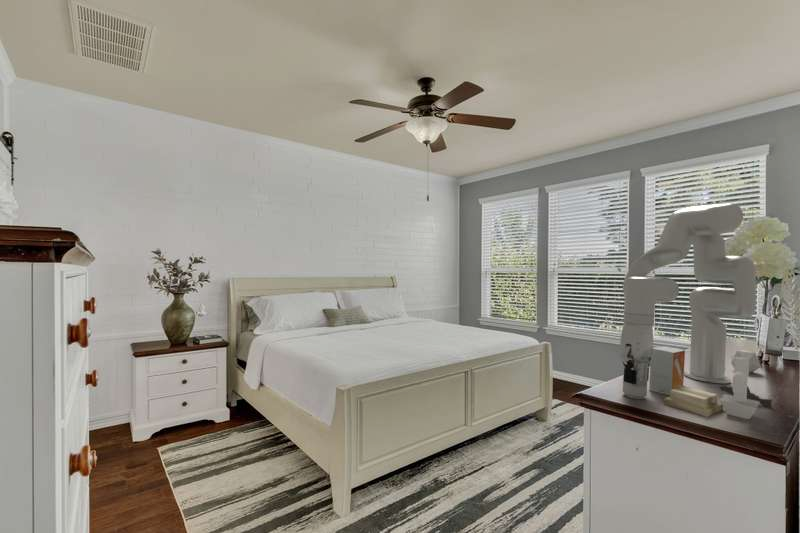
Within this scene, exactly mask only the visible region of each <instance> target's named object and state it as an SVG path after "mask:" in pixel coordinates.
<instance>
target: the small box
mask: <svg viewBox="0 0 800 533" xmlns="http://www.w3.org/2000/svg"><path fill="white" fill-rule="evenodd" d="M685 358H686V350H685V349H680V348H676V347H671V346H670V347H669V346H664V345H663V346H657V347H653V354H652V356H651V360H650V366H649V384H648V385H649V386H648V387H649V388H648V390H649V391H651V392H655V393H659V394H662V395H666V396H668V397H670V390H672V389H675V388H678V387H682V386H684V378H685V375H684V371H685V360H686V359H685Z"/></svg>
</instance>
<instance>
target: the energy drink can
mask: <svg viewBox="0 0 800 533" xmlns="http://www.w3.org/2000/svg"><path fill="white" fill-rule="evenodd" d="M648 353H649V352H648V351H644V353H643V355H642V358H641V359H640V360H637V364H636V368H635V370H637V377H636V384H631V383H627V382H624V370H623V372H622V373H623V374H622V375H623V376H622V393H624V395H625V397H627V398H630V399H635V400H645V398H646V397H647V394H648V381H647V376H648ZM628 358H633V356H629V357H628ZM633 359H634V358H633ZM629 361H630V360H629ZM630 362H631V363H633V361H630Z"/></svg>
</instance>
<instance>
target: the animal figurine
mask: <svg viewBox="0 0 800 533" xmlns="http://www.w3.org/2000/svg"><path fill="white" fill-rule="evenodd" d="M718 388H719V389H720V391H721V392H723V393H724V394H726V395H731V396H734V393H733V386H728V385H721V386H719V387H718ZM747 399H750V400H755V401H760V403H759V404H760V405H761V406H765V407H767V408H771V409H772V404H773V403H772V402H773V400H772V399H770V398H768V399H767V398H761V397H760V396H759V395H756V394H755V393H753V392H751V390H750V388H749V386H748V385H747Z"/></svg>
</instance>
